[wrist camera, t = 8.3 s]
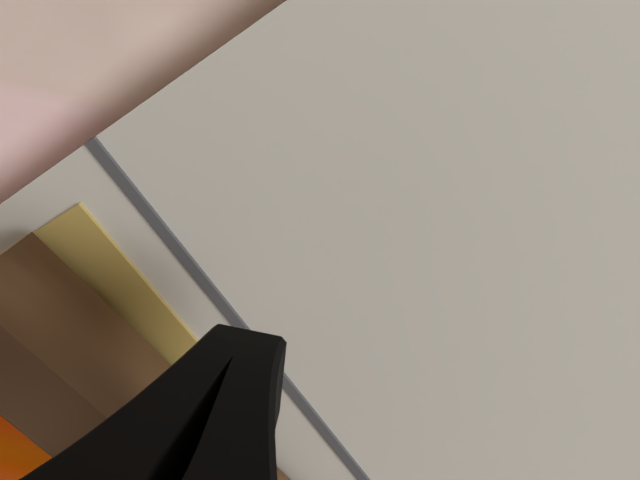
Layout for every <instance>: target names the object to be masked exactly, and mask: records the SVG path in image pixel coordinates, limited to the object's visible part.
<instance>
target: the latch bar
mask: <svg viewBox="0 0 640 480" xmlns="http://www.w3.org/2000/svg"><path fill="white" fill-rule="evenodd" d="M170 366H172V365H171V364H170V363H169V362H167V361H166V360H165V359H164V358H163V357H162V356H161V355H160V354H159V353H158V352H157V351H156V350H155V349H154V348H153V347H152V346H151V345H150V344H149V343H148V342H147V341H146V340H145V339H144V338H142V337H141V336H140V335H139V334H138V333H137V332H136V331H135V330H134V329H133V328H132V327H131V326H130V325H129V324H128V323H127V322H126V321H125V320H124V319H123V318H122V317H121V316H120V315H118V314H117V313H116V312H115V311H114V310H113V309H112V308H111V307H110V306H109V305H108V304H107V303H106V302H105V301H104V300H103V299H102V298H101V297H100V296H99V295H98V294H97V293H96V292H95V291H93V290H92V289H91V288H90V287H89V286H88V285H87V284H86V283H85V282H84V281H83V280H82V279H81V278H80V277H79V276H78V275H77V274H76V273H75V272H74V271H73V270H72V269H71V268H69V267H68V266H67V265H66V264H65V263H64V262H63V261H62V260H61V259H60V258H59V257H58V256H57V255H56V254H55V253H54V252H53V251H52V250H51V249H50V248H49V247H48V246H47V245H46V244H44V243H43V242H42V241H41V240H40V239H39V238H38V237H37V236H36V235H35V234H34V233H33V232H31V233H29V234H28V235H27V236H25V237H24V238H23V239H21V240H20V241H19V242H17V243H16V244H15V245H13V246H12V247H11V248H9V249H8V250H7V251H5V252H4V253H3V254H1V255H0V415H1V416H2V417H3V418H4V419H6V420H7V421H8V422H9V423H11V424H12V425H13V426H14V427H15V428H17V429H18V430H19V431H20V432H22V433H23V434H24V435H25V436H27V437H28V438H29V439H30V440H32V441H33V442H34V443H35V444H36V445H38V446H39V447H40V448H41V449H43V450H44V451H45V452H46V453H48V454H49V455H50V456H51V457H55V456H56V455H58V454H59V453H60V452H62V451H63V450H65V449H66V448H68V447H69V446H71V445H72V444H73V443H75V442H76V441H78V440H79V439H80V438H82V437H83V436H85V435H86V434H87V433H89V432H90V431H91V430H93V429H94V428H95V427H97V426H98V425H99V424H101V423H102V422H103V421H104V420H106V419H107V418H108V417H110V416H111V415H112V414H114V413H115V412H116V411H117V410H119V409H120V408H121V407H123V406H124V405H125V404H127V403H128V402H129V401H130V400H132V399H133V398H134V397H135V396H136V395H138V394H139V393H140V392H141V391H142V390H144V389H145V388H146V387H147V386H148V385H149V384H151V383H152V382H153V381H154V380H155V379H157V378H158V377H159V376H160V375H161V374H162V373H164V372H165V371H166V370H167V369H168V368H169V367H170ZM277 479H278V480H290V479H289V478H288V477H287V476H286V475H285V474H284V473H283V472H282V471H281V470H280V469H279V468H278V467H277Z"/></svg>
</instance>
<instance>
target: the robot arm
mask: <svg viewBox="0 0 640 480" xmlns="http://www.w3.org/2000/svg"><path fill="white" fill-rule="evenodd" d="M286 345H287V342H286V341H285V340H284V339H283V337H282V336H277V335H272V334H267V333H262V332H258V331H253V330H248V329H243V328H238V327H233V326H228V325H223V324H217V325H216V326H214V327H212V328H211V329H210V330H209V331H208V332H207V333H206V334H205V335H204V336H203V337H202V338H201V339H200V340H199V341H198V342H197V343H196V344H195V345H194V346H192V347H191V348H190V349H189V350H188V351H187V352H186V353H185V354H184V355H183V356H182V357H181V358H179V359H178V360H177V361H176V362H175V363H174V364H173V365H172V366H170V367H169V368H168V369H167V370H166V371H165V372H164V373H162V374H161V375H160V376H159V377H158V378H157V379H155V380H154V381H153V382H152V383H151V384H149V385H148V386H147V387H146V388H145V389H144V390H142V391H141V392H140V393H139V394H138V395H136V396H135V397H134V398H133V399H132V400H130V401H129V402H128V403H127V404H125V405H124V406H123V407H121V408H120V409H119V410H117V411H116V412H115V413H114V414H112V415H111V416H110V417H108V418H107V419H106V420H104V421H103V422H102V423H101V424H99V425H98V426H97V427H95V428H94V429H93V430H91V431H90V432H89V433H87V434H86V435H85V436H83V437H82V438H80V439H79V440H78V441H76V442H75V443H73V444H72V445H71V446H69V447H68V448H66V449H65V450H63V451H62V452H60V453H59V454H58V455H56V456H55V457H53V458H52V459H50V460H49V461H47V462H45V463H44V464H42V465H41V466H39V467H38V468H36V469H35V470H33V471H32V472H30V473H29V474H27V475H26V476H24V477H22V478H21V479H19V480H278V479H277V464H276V443H275V429H276V424H277V420H278V416H279V412H280V403H281V394H282V384H283V374H284V365H285V355H286Z"/></svg>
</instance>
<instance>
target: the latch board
mask: <svg viewBox="0 0 640 480" xmlns="http://www.w3.org/2000/svg"><path fill="white" fill-rule="evenodd" d="M31 232H33V233H34V234H35V235H36V236H37V237H38V238H39V239H40V240H41V241H42V242H43V243H44V244H46V245H47V246H48V247H49V248H50V249H51V250H52V251H53V252H54V253H55V254H56V255H57V256H58V257H59V258H60V259H61V260H62V261H63V262H64V263H65V264H66V265H67V266H68V267H69V268H71V269H72V270H73V271H74V272H75V273H76V274H77V275H78V276H79V277H80V278H81V279H82V280H83V281H84V282H85V283H86V284H87V285H88V286H89V287H90V288H91V289H92V290H93V291H95V292H96V293H97V294H98V295H99V296H100V297H101V298H102V299H103V300H104V301H105V302H106V303H107V304H108V305H109V306H110V307H111V308H112V309H113V310H114V311H115V312H116V313H117V314H118V315H120V316H121V317H122V318H123V319H124V320H125V321H126V322H127V323H128V324H129V325H130V326H131V327H132V328H133V329H134V330H135V331H136V332H137V333H138V334H139V335H140V336H141V337H142V338H144V339H145V340H146V341H147V342H148V343H149V344H150V345H151V346H152V347H153V348H154V349H155V350H156V351H157V352H158V353H159V354H160V355H161V356H162V357H163V358H164V359H165V360H166V361H167V362H169V363H170V364H171V365H173V364H174V363H175V362H176V361H177V360H178V359H179V358H181V357H182V356H183V355H184V354H185V353H186V352H187V351H188V350H189V349H190V348H191V347H192V346H194V345H195V344H196V343H197V342H198V341H199V340H200V339H201V338H202V337H203V336H204V335H205V334H206V333H207V332H208V331H209V330H210V329H211V328H212V327H214V326H216V325H217V324H223V325H228V326H233V327H238V328H243V329H248V330H253V331H258V332H262V333H267V334H272V335H277V336H282V337H283V339H284V340H285V341H286V342H287V345H286V355H285V365H284V374H283V384H282V394H281V403H280V412H279V416H278V420H277V424H276V429H275V443H276V464H277V467H278V468H279V469H280V470H281V471H282V472H283V473H284V474H285V475H286V476H287V477H288V478H289V479H290V480H640V0H286V1H285V2H283V3H282V4H281V5H279V6H278V7H276V8H275V9H274V10H272V11H271V12H269V13H268V14H267V15H265V16H264V17H262V18H261V19H259V20H258V21H257V22H255V23H254V24H252V25H251V26H250V27H248V28H247V29H245V30H244V31H243V32H241V33H240V34H238V35H237V36H236V37H234V38H233V39H231V40H230V41H229V42H227V43H226V44H224V45H223V46H222V47H220V48H219V49H217V50H216V51H215V52H213V53H212V54H210V55H209V56H207V57H206V58H205V59H203V60H202V61H200V62H199V63H198V64H196V65H195V66H193V67H192V68H191V69H189V70H188V71H186V72H185V73H184V74H182V75H181V76H179V77H178V78H177V79H175V80H174V81H172V82H171V83H170V84H168V85H167V86H165V87H164V88H163V89H161V90H160V91H158V92H157V93H156V94H154V95H153V96H151V97H150V98H148V99H147V100H146V101H144V102H143V103H141V104H140V105H139V106H137V107H136V108H134V109H133V110H132V111H130V112H129V113H127V114H126V115H125V116H123V117H122V118H120V119H119V120H118V121H116V122H115V123H113V124H112V125H111V126H109V127H108V128H106V129H105V130H104V131H102V132H101V133H99V134H98V135H96V136H95V137H93V138H92V139H91V140H89V141H88V142H86V143H85V144H84V145H82V146H81V147H80V148H78V149H77V150H75V151H74V152H73V153H71V154H70V155H68V156H67V157H66V158H64V159H63V160H61V161H60V162H59V163H57V164H56V165H54V166H53V167H52V168H50V169H49V170H47V171H46V172H45V173H43V174H42V175H40V176H39V177H37V178H36V179H35V180H33V181H32V182H30V183H29V184H28V185H26V186H25V187H23V188H22V189H21V190H19V191H18V192H16V193H15V194H14V195H12V196H11V197H9V198H8V199H7V200H5V201H4V202H2V203H1V204H0V255H1V254H3V253H4V252H5V251H7V250H8V249H9V248H11V247H12V246H13V245H15V244H16V243H17V242H19V241H20V240H21V239H23V238H24V237H25V236H27V235H28V234H29V233H31Z"/></svg>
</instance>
